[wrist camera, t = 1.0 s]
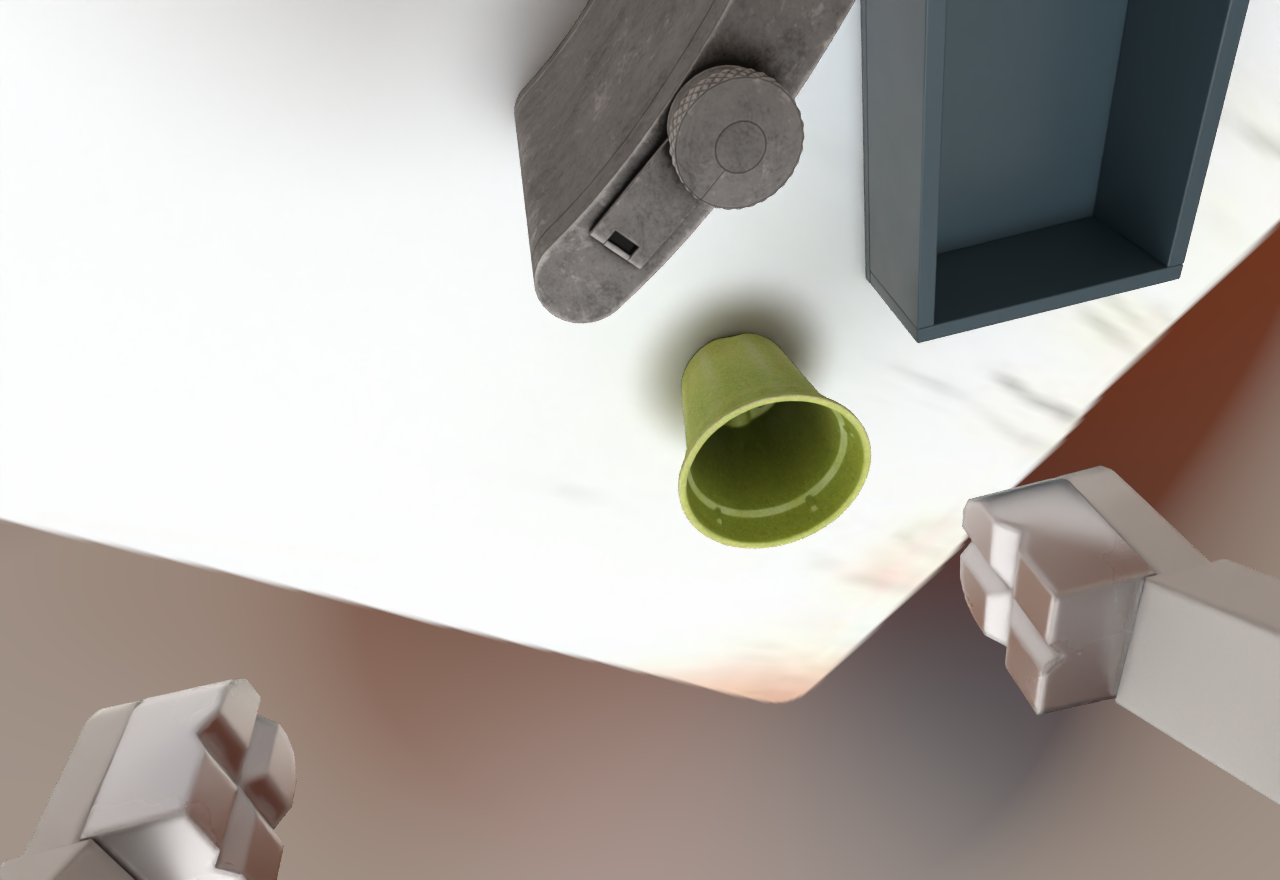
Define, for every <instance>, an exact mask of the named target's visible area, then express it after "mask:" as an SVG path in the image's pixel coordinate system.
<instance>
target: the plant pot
mask: <svg viewBox="0 0 1280 880" xmlns="http://www.w3.org/2000/svg"><path fill="white" fill-rule="evenodd" d="M681 393H682V404H683V413H684V422H685V433H686V446H687V450H686V454H685V459H684V461H683V464H682V467H681V470H680V474H679V483H678V491H679V498H680V503H681V506H682V509H683V511H684V514H685V515H686V517H687V519H688V520H689V521H690V523H691V524H692V525H693V526H694V527H695V528H696V529H697V530H698V531H699V532H701V533H702V534H703V535H705V536H706V537H708V538H710V539H712V540H714V541H717V542H719V543H722V544H724V545H728V546H732V547H740V548H767V547H776V546H780V545H785V544H788V543H792V542H795V541H797V540H800V539H803V538H805V537H807V536H809V535H811V534H814V533H816V532H817V531H819V530H821V529H822V528H824V527H826V526H827V525H828V524H830V523H831V522H833V521H834V520H835V519H837V518H838V517H839V516H840V515H841V514H842V513H843V512H844V511H845V510H846V509H847V508H848V507H849V506H850V504H851V503H852V502H853V501H854V500H855V498H856V497H857V496H858V494H859V492H860V491H861V489H862V486H863V485H864V482H865V480H866V478H867V476H868V472H869V468H870V463H871V447H870V442H869V438H868V435H867V433H866V431H865V429H864V427H863V425H862V424H861V422H860V421H859V420H858V419H857V417H856V416H855V415H854V414H853V413H852V412H851V411H850V410H848V409H847V408H846V407H844V406H843V405H841V404H839V403H838V402H836V401H834V400H831V399H829V398H826V397H825V396H823V395H821V394H820V393H818V391H817V390H816V389H815V388H814V387H813V386H812V385H811V383H810V382H809V381H808V380H807V379H806V378H805V377H804V376H803V374H802V373H801V372H800V371H799V370H798V369H797V367H796V366H795V365H794V364H793V363H792V362H791V360H790V359H789V358H788V357H787V356H786V355H785V354H784V352H783V351H782V350H781V349H780V348H779V347H778V346H777V345H776V344H775V343H774V342H772V341H771V340H769V339H767V338H765V337H762V336H759V335H756V334H750V333H744V334H741V335H737V336H733V337H727V338H720V339H716V340H714V341H712V342H710V343H708V344H707V345H705V346H704V347H703V348H701V349H700V350H699V351H698V352H697V353H696V354H695V355H694V356H693V357H692V359H691V360H690V362H689V363H688V365H687V367H686V369H685V371H684V374H683V377H682V386H681ZM758 406H760V407H758Z"/></svg>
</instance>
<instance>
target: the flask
mask: <svg viewBox="0 0 1280 880" xmlns="http://www.w3.org/2000/svg"><path fill="white" fill-rule="evenodd" d="M854 2H855V0H590V1H589V2H588V4H587V5H586V7H585V9H584V10H583V12H582V13H581V15H580V16H579V18H578V20H577V21H576V23H575V24H574V25H573V27H572V28H571V30H570V31H569V33H568V34H567V36H566V37H565V38H564V40H563V41H562V43H561V44H560V45H559V47H558V48H557V49H556V51H555V52H554V53H553V55H552V56H551V57H550V59H549V60H548V61H547V62H546V63H545V65H544V66H543V67H542V68H541V69H540V71H539V72H538V73H537V74H536V75H535V77H534V78H533V79H532V80H531V81H530V82H529V83H528V84H527V85H526V87H525V88H524V89H523V90H522V91H521V93H520V94H519V96H518V98H517V100H516V104H515V112H514V114H515V123H516V132H517V140H518V149H519V157H520V166H521V175H522V183H523V192H524V200H525V209H526V217H527V226H528V235H529V243H530V252H531V260H532V269H533V278H534V285H535V291H536V294H537V296H538V299H539V300H540V302H541V303H542V305H543V306H544V307H545V308H546V309H547V310H548V311H549V312H550V313H551V314H553V315H554V316H556V317H558V318H560V319H562V320H565V321H569V322H573V323H590V322H595V321H598V320H601V319H604V318H606V317H608V316H610V315H611V314H612V313H614V312H615V311H616V310H618V309H619V308H620V307H621V306H622V305H623V304H624V303H625V302H626V301H627V300H628V299H629V298H630V297H631V296H632V295H634V294H635V293H636V292H637V291H638V290H639V289H640V288H641V287H642V286H643V285H644V284H645V283H646V282H647V281H648V280H649V279H650V278H651V277H652V276H653V275H654V274H655V273H656V272H657V271H658V270H659V269H660V268H661V267H662V266H663V265H664V264H665V263H666V262H667V261H668V260H669V258H670V257H671V256H672V255H673V254H674V253H675V252H676V251H677V250H678V248H679V247H680V246H681V245H682V244H683V243H684V242H685V241H686V240H687V239H688V237H689V236H690V235H691V234H692V233H693V232H694V230H695V229H696V228H697V227H698V226H699V225H700V223H701V222H702V221H703V220H704V219H705V218H706V216H707V215H708V214H709V213H710V212H711V211H712V209H713V208H714V207H715V208H723V209H726V210H730V209H742V208H745V207H751V206H754V205H755V204H757V203H759V202H763V201H765V200H766V199H767V198H768V197H770V196H772V195H774V194H775V193H776V192H777V190H778V189H779V188H781V187H782V186H784V185H785V183H786V181H787V179H788V178H789V177H790V176H791V175H792V174H793V171H794V168H795V167H796V165H797V164H798V162H799V157H800V154H801V152H802V150H803V146H802V143H803V140H804V133H803V126H804V123H803V121H802V119H801V112H800V110H799V109H798V108H797V106H796V103H795V100H794V99H795V97H796V96H797V94H798V93H799V91H800V90H801V88H802V87H803V85H804V84H805V82H806V81H807V79H808V78H809V76H810V75H811V73H812V71H813V70H814V68H815V67H816V65H817V63H818V62H819V60H820V58H821V57H822V55H823V54H824V52H825V50H826V49H827V47H828V46H829V44H830V42H831V41H832V39H833V37H834V36H835V34H836V32H837V31H838V29H839V27H840V26H841V24H842V22H843V20H844V19H845V17H846V15H847V14H848V12H849V10H850V9H851V7H852V5H853V3H854Z"/></svg>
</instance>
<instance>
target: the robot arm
mask: <svg viewBox="0 0 1280 880" xmlns="http://www.w3.org/2000/svg"><path fill="white" fill-rule="evenodd" d="M962 527H963V528H964V530H965V531H966V533H967V534H968V535H969V537H970V538H971V540H972V542H971V543H970V544H969V545H968V547H967V548H966V549H965V551H964V552H963V553H962V554H961V556H960V579H961V583H962V587H963V592H964V596H965V600H966V602H967V604H968V607H969V609H970V611H971V613H972V615H973V617H974V619H975V621H976V622H977V624H978V625H979V627H980V628H981V630H982V632H983V633H984V635H986V636H988V637H990V638H991V639H993V640H995V641H997V642H999V643H1001V644H1003V645H1005V646H1007V653H1006V662H1005V667H1006V668H1007V670H1008V671H1009V673H1010V674H1011V676H1012V677H1013V679H1014V680H1015V682H1016V683H1017V685H1018V686H1019V688H1020V689H1021V691H1022V692H1023V694H1024V695H1025V697H1026V698H1027V700H1028V701H1029V703H1030V704H1031V706H1032V707H1033V709H1034V710H1035V712H1036V713H1037V715H1040V714H1045V713H1049V712H1054V711H1058V710H1063V709H1067V708H1072V707H1076V706H1081V705H1085V704H1090V703H1094V702H1099V701H1103V700H1108V699H1112V698H1116V701H1115V702H1116V703H1118V704H1120V705H1121V706H1123V707H1124V708H1126V709H1128V710H1129V711H1131V712H1132V713H1134V714H1135V715H1137V716H1139V717H1140V718H1142V719H1144V720H1145V721H1147V722H1148V723H1150V724H1152V725H1153V726H1155V727H1156V728H1158V729H1159V730H1161V731H1163V732H1164V733H1166V734H1167V735H1169V736H1171V737H1173V738H1174V739H1175V740H1177V741H1179V742H1180V743H1182V744H1184V745H1185V746H1187V747H1188V748H1190V749H1191V750H1193V751H1195V752H1196V753H1198V754H1200V755H1201V756H1203V757H1204V758H1206V759H1207V760H1209V761H1211V762H1212V763H1214V764H1215V765H1217V766H1219V767H1220V768H1222V769H1223V770H1225V771H1227V772H1228V773H1230V774H1232V775H1233V776H1235V777H1236V778H1238V779H1239V780H1241V781H1243V782H1244V783H1246V784H1248V785H1249V786H1251V787H1252V788H1254V789H1255V790H1257V791H1259V792H1260V793H1262V794H1263V795H1265V796H1267V797H1268V798H1270V799H1271V800H1273V801H1275V802H1276V803H1278V804H1279V805H1280V579H1279V578H1276V577H1273V576H1270V575H1268V574H1265V573H1262V572H1260V571H1257V570H1254V569H1251V568H1248V567H1246V566H1243V565H1240V564H1238V563H1235V562H1232V561H1229V560H1227V559H1222V560H1217V561H1212V562H1210V561H1209V560H1208V559H1207V558H1206V557H1205V556H1204V555H1203V554H1202V553H1201V552H1199V551H1198V550H1197V549H1196V548H1195V547H1194V546H1193V545H1192V544H1191V543H1190V542H1189V541H1188V540H1186V538H1185V537H1183V536H1182V535H1181V534H1180V533H1179V532H1178V531H1177V530H1176V529H1175V528H1174V527H1173V526H1172V525H1171V524H1170V523H1169V522H1167V521H1166V520H1165V519H1164V518H1163V517H1162V516H1161V515H1160V514H1159V513H1158V512H1157V511H1156V510H1154V508H1153V507H1151V506H1150V505H1149V504H1148V503H1147V502H1146V501H1145V500H1144V499H1143V498H1142V497H1141V496H1140V495H1139V494H1138V493H1137V492H1135V491H1134V490H1133V489H1132V488H1131V487H1130V486H1129V485H1128V484H1127V483H1126V482H1125V481H1124V480H1123V479H1122V478H1121V477H1119V476H1118V475H1117V474H1116V473H1115V472H1114V471H1113V470H1111V469H1108V468H1106V467H1103V466H1098V467H1094V468H1090V469H1087V470H1082V471H1079V472H1074V473H1070V474H1066V475H1062V476H1059V477H1056V478H1055V479H1047V480H1044V481H1040V482H1035V483H1032V484H1028V485H1024V486H1020V487H1016V488H1012V489H1008V490H1004V491H1000V492H996V493H992V494H988V495H984V496H980V497H976V498H972V499H969V500H968V502H967V504H966V506H965V508H964V510H963V523H962ZM260 700H261V697H260V696H259V695H258V694H257V692H256V691H255V690H254V688H253V687H252V686H251V685H250V683H249V682H248V681H247V680H246V679H232V680H228V681H223V682H219V683H214V684H209V685H205V686H200V687H196V688H191V689H186V690H182V691H177V692H173V693H168V694H164V695H159V696H155V697H150V698H146V699H144V700H141V701H136V702H131V703H127V704H122V705H118V706H113V707H108V708H104V709H100V710H99V711H97V712H96V713H95V714H94V715H93V716H92V717H90V718H89V719H88V720H87V721H86V723H85V725H84V727H83V729H82V731H81V733H80V735H79V737H78V739H77V741H76V743H75V746H74V748H73V750H72V752H71V754H70V757H69V758H68V761H67V763H66V765H65V767H64V769H63V771H62V773H61V775H60V777H59V779H58V782H57V784H56V786H55V788H54V790H53V792H52V794H51V796H50V798H49V801H48V803H47V805H46V807H45V809H44V811H43V813H42V815H41V818H40V820H39V822H38V824H37V826H36V828H35V830H34V832H33V834H32V836H31V839H30V841H29V843H28V845H27V847H26V849H25V852H24V853H23V855H22V856H19V857H15V858H12V859H8V860H6V861H5V862H4V863H3V864H2V865H1V866H0V880H277V876H278V871H279V867H280V862H281V857H282V852H283V847H284V845H283V843H282V842H281V840H280V839H279V837H278V835H277V834H276V832H275V831H274V828H275V827H276V826H277V825H278V824H279V822H280V821H281V820H282V818H283V817H284V816H285V815H286V813H287V812H288V811H289V810H290V808H291V807H292V802H293V797H294V791H295V787H296V769H295V755H294V752H293V749H292V746H291V744H290V741H289V738H288V736H287V734H286V733H285V731H284V730H283V729H282V727H281V726H280V724H279V723H278V722H275V721H273V720H271V719H268V718H266V717H263V716H261V715H258V714H257V712H258V708H259V704H260Z"/></svg>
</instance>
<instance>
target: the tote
mask: <svg viewBox="0 0 1280 880" xmlns="http://www.w3.org/2000/svg"><path fill="white" fill-rule="evenodd" d="M1248 4H1249V0H861V16H862V70H863V124H864V177H865V231H866V279H867V280H868V281H869V283H871V285H872V286H873V287H874V289H875V290H876V291H877V292H878V294H879V295H880V296H881V297H882V299H883V300H884V301H885V302H886V304H887V305H888V306H889V308H890V309H891V310H892V311H893V313H894V314H895V315H896V316H897V318H898V319H899V320H900V321H901V323H902V324H903V325H904V327H905V328H906V329H907V330H908V332H909V333H910V334H911V335H912V337H913V338H914V339H915V341H916V342H917V343H920V342H924V341H928V340H933V339H937V338H941V337H945V336H949V335H953V334H957V333H961V332H965V331H969V330H973V329H977V328H981V327H985V326H989V325H993V324H997V323H1001V322H1005V321H1009V320H1013V319H1018V318H1022V317H1026V316H1030V315H1034V314H1038V313H1042V312H1046V311H1050V310H1054V309H1058V308H1062V307H1066V306H1070V305H1074V304H1078V303H1082V302H1086V301H1090V300H1094V299H1099V298H1103V297H1107V296H1111V295H1115V294H1119V293H1123V292H1127V291H1131V290H1135V289H1139V288H1143V287H1147V286H1151V285H1155V284H1159V283H1163V282H1167V281H1171V280H1175V279H1179V278H1180V275H1181V271H1182V267H1183V263H1184V260H1185V256H1186V252H1187V248H1188V244H1189V240H1190V236H1191V232H1192V228H1193V224H1194V220H1195V216H1196V212H1197V208H1198V204H1199V200H1200V196H1201V192H1202V188H1203V184H1204V180H1205V176H1206V172H1207V168H1208V164H1209V160H1210V156H1211V152H1212V148H1213V144H1214V140H1215V136H1216V132H1217V128H1218V124H1219V120H1220V116H1221V112H1222V108H1223V104H1224V100H1225V96H1226V92H1227V88H1228V84H1229V80H1230V76H1231V72H1232V68H1233V64H1234V60H1235V56H1236V52H1237V48H1238V44H1239V40H1240V36H1241V32H1242V28H1243V24H1244V20H1245V16H1246V12H1247V8H1248Z"/></svg>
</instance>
